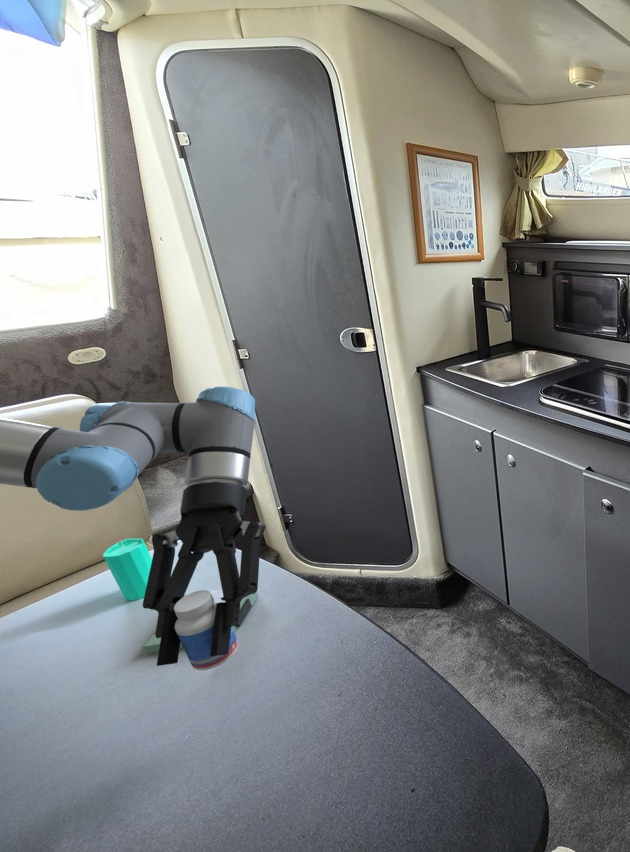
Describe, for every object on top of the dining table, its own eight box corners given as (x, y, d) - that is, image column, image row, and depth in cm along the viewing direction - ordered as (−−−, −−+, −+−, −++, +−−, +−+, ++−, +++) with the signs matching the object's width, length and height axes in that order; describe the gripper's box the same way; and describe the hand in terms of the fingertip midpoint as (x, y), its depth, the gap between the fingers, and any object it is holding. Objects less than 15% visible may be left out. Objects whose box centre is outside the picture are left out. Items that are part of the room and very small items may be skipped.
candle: (145, 600, 96) (120, 550, 92) (115, 600, 97) (89, 551, 92) (170, 578, 102) (148, 530, 97) (142, 579, 102) (119, 531, 98)
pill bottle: (243, 653, 69) (221, 599, 66) (196, 679, 66) (170, 623, 62) (234, 632, 73) (212, 580, 69) (188, 655, 69) (163, 602, 66)
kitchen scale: (149, 659, 83) (141, 643, 82) (189, 607, 94) (182, 592, 93) (231, 645, 85) (224, 628, 84) (260, 595, 96) (254, 580, 95)
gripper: (294, 485, 78) (283, 644, 70) (164, 501, 75) (134, 671, 66) (271, 472, 72) (255, 647, 63) (126, 489, 68) (88, 677, 60)
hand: (193, 659), depth 65 cm, fingers closed on pill bottle, 5 cm apart
